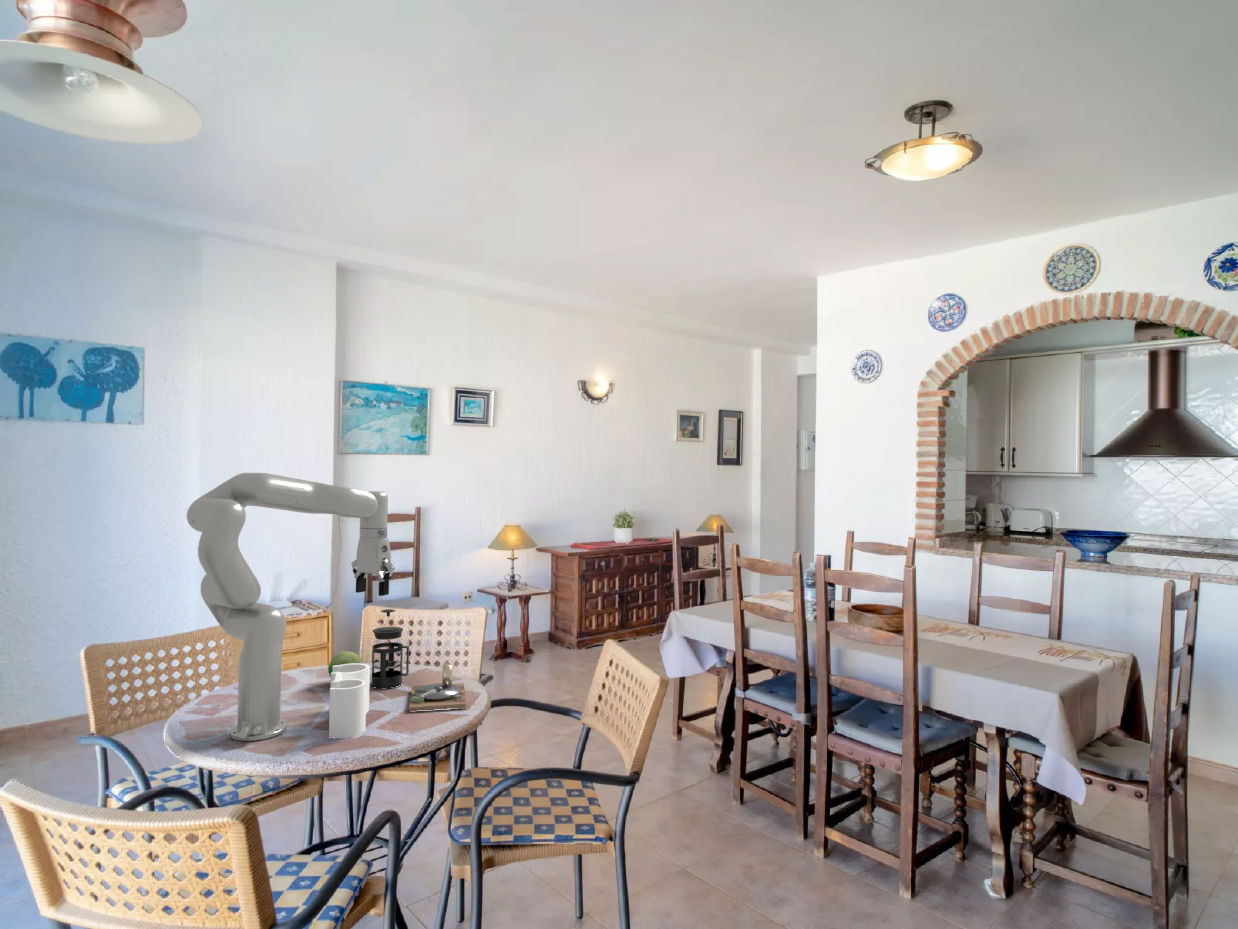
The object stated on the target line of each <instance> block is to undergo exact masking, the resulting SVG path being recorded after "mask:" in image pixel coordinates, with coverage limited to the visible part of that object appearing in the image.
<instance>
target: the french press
mask: <svg viewBox="0 0 1238 929" xmlns="http://www.w3.org/2000/svg"><path fill="white" fill-rule="evenodd" d="M380 612H381V613H386V617H387V626H384V627H383V626H382V627H377V628H374V629H372V633H373V634H374V638H375V639H376V640H383V641H384V640H385V641H386V642H380V643H376V644H373V645H372V647H371V653H372V654H371V683H370V688H372V687H376V688H391V687H396V686H399V685H401V683H403V682H404V681H403V677H406V676H408V675H409V672H410V671H409V670H410V669H409V666H410V664H409V663H410V645H403V643H401V642H394V641H393V642H392V641H391V642H390V641H389V640H396V639H400V638H401V637H402V635H403V634H402V632H403V631H404V629H403V627H400V626H389V624H390V622H389V620H390V616H391V613H394V612H396V610H395V609H392V608H387V609H382V610H381V611H380ZM404 649H406V668H405V670H406V671H405V672H406V673H403V657H404V656H403V651H404ZM398 652H400V657H399V658H400V661H399V660H395V653H398ZM375 654H380V659H379V660H380V661H377V662H375ZM399 667H400V668H399ZM397 668H399V670H395V669H397ZM375 669H377V670H378V671H375ZM402 681H403V682H402ZM403 684H404V683H403ZM401 686H402V685H401ZM399 687H400V686H399ZM396 688H397V687H396ZM391 689H392V688H391Z"/></svg>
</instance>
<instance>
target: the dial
mask: <svg viewBox="0 0 1238 929" xmlns="http://www.w3.org/2000/svg"><path fill="white" fill-rule="evenodd" d="M441 679H442V682H440V683H431V684H424V685H425V686H421V687H419V688H417V689H416V690H415V697H420V698H424V700H432V701H435V700H446V699H451V698H454V696H456V695H460V694H461V687H460V686H458V685H454V684H455V683H453V664H452V663H445V664H442V678H441Z"/></svg>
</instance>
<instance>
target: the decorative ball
mask: <svg viewBox="0 0 1238 929" xmlns="http://www.w3.org/2000/svg"><path fill="white" fill-rule="evenodd" d="M351 663H361V664H363V661H362V659H361V657H360V656H359V655H358V654H357V653H355V652H353V651H341V652H338V653H337V654H336V655H334V656H333V657H332V658H331V660H330V662H329V663H328V666H327V670H328V674H329V677H330V679H331V673H332V666H334V665H342V664H351Z"/></svg>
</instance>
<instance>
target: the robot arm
mask: <svg viewBox="0 0 1238 929" xmlns="http://www.w3.org/2000/svg"><path fill="white" fill-rule="evenodd" d="M388 498H389V497H388V494H387V492H385V491H378V490H375V491H374V490H373V491H372V490H369V491H367V490H361V489H358V488H357V489H356V488H350V487H346V486H345V487H344V486H338V485H332V484H326V483H323V482H318V481H311V480H306V479H300V478H295V477H289V476H283V475H277V474H273V473H266V472H242V473H238V474H236V475H235V476H233V477H231V478H229V479H227V480H225V481H224V482H222V483H221V484H219V485H218V486H216V487H214V488H213V489H211V490H210V491H208V492H206V493H205V494H203V495H202V496H201V495H200V497H198V498H197V499H195V500H194V501H193V502H192V503H191V504H190V506H189V507H188V509H187V511H186V520H187V523H188V524H189V526H190V527H191V528H192V529H193V530H195V531H197V532H199V533H201V535H200V538H199V541H198V546H197V557H198V560H199V563H200V565H201V567H202V569H203V570H204V572H205V575H204V576H203V578H202V580H201V583H200V595H201V598H202V600H203V602H204V603H205V605H206V606H207V608H208V610H209V611H210V612H211V614H212V616H213V617H214V619H215V620H216V622H217V623H218V624H219V626H220V628H221V629H222V630H223V631H224V632H225V633H226V634H227V635H228V636H230V637H232V638H234V639H237V640H242V641H243V645H242V648H241V651H240V654H239V658H238V668H237V669H238V675H237V677H238V678H237V716H236V718H237V719H236V720H237V722H236V723H237V724H236V725H235V726H234V727H232V728H231V729H230V730H229V737H230V738H231V739H232V740H235V741H238V742H239V741H240V742H252V741H254V742H255V741H260V740H261V741H263V740H266V739H270V738H274V737H278V736H279V735H281V734H283V733H284V732H285V731H287V727H288V726H287V723H286V722H285V721H284V720H281V700H282V698H281V695H282V694H281V693H282V692H281V691H282V653H283V646H284V645H283V644H284V640H285V639H284V638H285V634H286V630H287V619H286V616H285V614H284V613H283V612H282V611H281V609H279V608H278V607H277V606H276V607H275V606H274V605H270V604H266V603H261V602H258V601H259V599H260V597H261V594H262V591H261V590H262V588H261V584H260V582H259V581H258V579H257V577H256V575H255V574H254V572H253V571H252V569H251V567H250V565H249V564H248V563H247V561H246V559H245V558H244V556H243V554H242V552H241V550H240V547H239V538H240V535H241V533H242V530H243V527H244V526H245V523H246V518H247V514H246V509H245V508H246V507H250V506H251V507H260V508H268V509H275V510H282V511H289V512H296V513H304V514H311V515H313V514H315V515H316V514H321V515H322V514H327V515H336V516H338V517H341V518H353V519H359V538H358V542H357V548H356V559H355V560H354V561H352V562H351V567H352V573H353V574H354V579H355V593H357V594H358V593H365V592H366V591H367V577H366V575H377V578H379V579H378V580H380V581H378V596H379V597H381V596H383V597H384V596H388V595H389V594H390V581H391V578H392V577H393V575H394V573H395V570H396V566H395V565H393V564H392V556H391V554H392V553H391V547H390V546H391V545H390V540H389V539H388V508H389V507H388V505H389V504H388V502H389V499H388Z"/></svg>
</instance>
